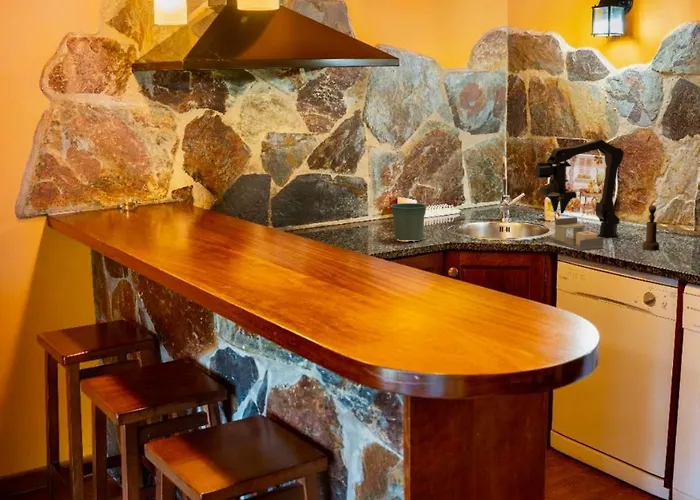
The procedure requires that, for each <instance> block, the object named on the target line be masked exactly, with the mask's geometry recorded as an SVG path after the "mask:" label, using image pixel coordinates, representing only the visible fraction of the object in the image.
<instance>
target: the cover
mask: <svg viewBox="0 0 700 500" xmlns="http://www.w3.org/2000/svg"><path fill="white" fill-rule="evenodd" d="M554 220H555V224H554V229H555V231H554V240H555V239H557V240H560V241H563V242H566V238H567V230H568V229H569V230H570V229H573V231H572V232H573V234H572V235H573V236H572V238H576V232H586V229H585V227H586V225H585V224H582V223H578V217H566V218H556V219H554Z"/></svg>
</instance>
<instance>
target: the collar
mask: <svg viewBox="0 0 700 500" xmlns="http://www.w3.org/2000/svg"><path fill="white" fill-rule="evenodd" d="M589 239H598V233H597V232H592V231H588V230H587V231H586V230H585V232H576V244H577V245H580V240H589Z"/></svg>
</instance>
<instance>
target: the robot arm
mask: <svg viewBox="0 0 700 500" xmlns="http://www.w3.org/2000/svg"><path fill="white" fill-rule="evenodd" d="M596 150H598V151H599V152H600V153H602V154H603V155H604V163H605V166H606V167H605V175H604V181H603V189H602V194H601V199H600V200H599V202H597V201H596V202H595V208H594V211H595V216H596V217H597V218H598V221H599V222H600V226H599V234H598V233H597V236H598V237H602V238H608V239H609V238H616V237H617V238H618V237H619V234H618V233H617V232H618V224H619V223H620V217H618V216H617V215H616V214H615V204H614V193H615V187H616V180H617V175H618V169H619V167H620V166H621V163H622V161H623V159H624V155H625V152H624V151H623V149H622V148H620V147H616V146H614V145H612V144H610V143H609V142H606V141H605V140H604V139H599V138H598V139H594V140H592V141H588V142H584V143H580V144H577V145H576V144H575V145H573V146H566V147H565V146H563V147H555V148H554V149H552V151H551V154H550V155H549V157H548V159H547V160H546V162H536V166H535V168H534V176H535V178H537V179H549V178H551V177H552V178H551V179H550V180H549V183H547V184H544V185H542V186H540V187H539V190H540V194H541V195H542V196H543V195H544V196H545V197H546V198H547V199H549V201H550V204H551V206H552V207H551V208H552V211H553V212H554V213H557V211H558V207H559V210H560V211H559V212H560V214H564V213H565V211H566V209H567V206H568V205H569V204H570V202H571V200H573V199H577V195H578V194H577V191H573V190H569V189H568V188H567V183H568V182H569V179H567V168H568V167H572V165H571V164H570V163H569V161H568V160H570V159H572V158H574V157H575V156H578V155H582V154H586V153H588V152H592V151H596Z"/></svg>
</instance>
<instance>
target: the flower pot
mask: <svg viewBox="0 0 700 500" xmlns="http://www.w3.org/2000/svg"><path fill="white" fill-rule="evenodd" d="M427 207H428V205H427V204H424V203H417V202H415V203H414V202H408V203H407V202H404V203H403V202H402V203H393V204H391V205H390V208H391V214H392V216H393V217H392V218H393V227H394V228H393V229H394V239H395V238H396V239H399V240H421V239H422V240H423V237H424V235H423V234H424V233H423V232H424V225H425V223H424V222H425V215H426V211H427Z"/></svg>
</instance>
